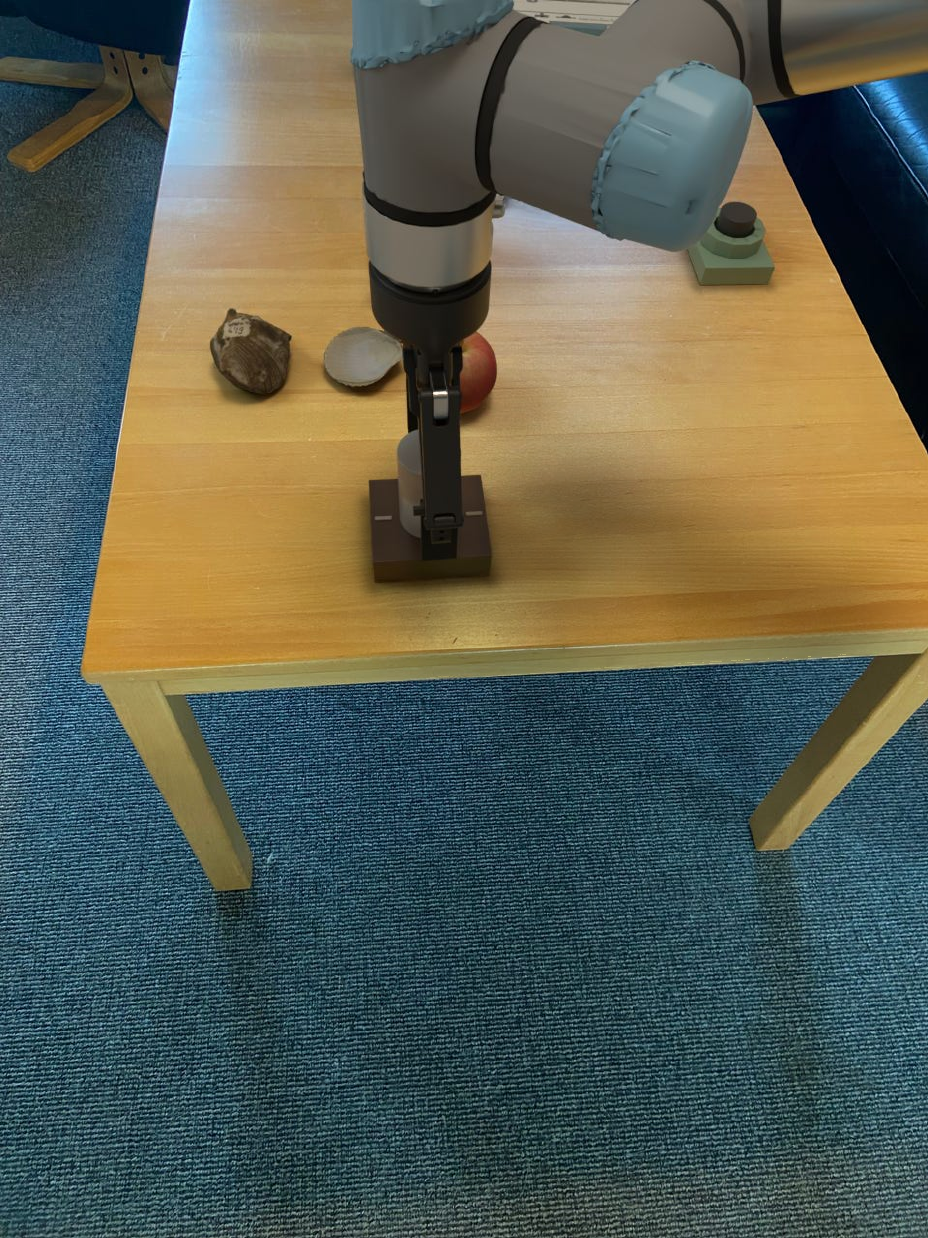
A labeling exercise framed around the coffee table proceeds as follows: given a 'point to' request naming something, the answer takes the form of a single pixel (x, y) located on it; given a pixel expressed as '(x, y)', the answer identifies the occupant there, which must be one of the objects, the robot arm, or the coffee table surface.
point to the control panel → (402, 551)
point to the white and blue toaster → (575, 13)
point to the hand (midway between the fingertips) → (430, 489)
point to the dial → (409, 482)
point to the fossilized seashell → (251, 352)
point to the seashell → (361, 356)
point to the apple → (476, 371)
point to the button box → (732, 257)
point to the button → (736, 219)
